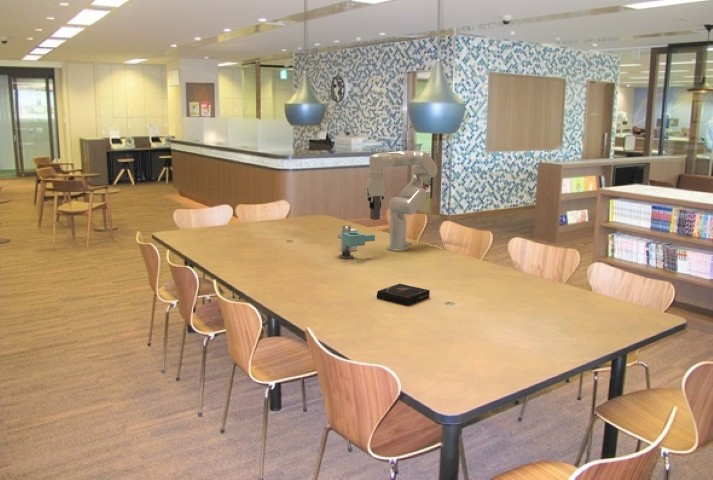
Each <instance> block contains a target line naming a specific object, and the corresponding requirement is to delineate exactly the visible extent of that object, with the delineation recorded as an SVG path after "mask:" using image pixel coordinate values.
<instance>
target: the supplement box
mask: <svg viewBox="0 0 713 480" xmlns="http://www.w3.org/2000/svg"><path fill="white" fill-rule="evenodd" d="M351 232H358V228H357V229H356V228H351ZM340 234H342V229H340ZM339 244H340V245H339V246H340V247H339V249H340V251H342V239H340V243H339ZM357 250H358V246H354V247H351V248H350V252H353V251H357Z"/></svg>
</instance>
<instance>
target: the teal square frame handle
mask: <svg viewBox="0 0 713 480" xmlns="http://www.w3.org/2000/svg"><path fill="white" fill-rule="evenodd" d="M375 241H376V235H375V234H372V233H371V234H370V233H369V234H365V233H361V232H358V231H357V232H350V233H342V244H344V245H347V246H349V247H354V246H357V247H362V246H366V242H367V243H368V242H375Z"/></svg>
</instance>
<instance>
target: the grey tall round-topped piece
mask: <svg viewBox="0 0 713 480" xmlns="http://www.w3.org/2000/svg"><path fill="white" fill-rule="evenodd" d="M351 227H352V226H351V225H350V224H349V225H348V224H345V225H344V224H343V225H342V227H341V230H342V233H350V232H351V229H352V228H351ZM337 239H340V240H341V239H342V234H341V233H339V234H337ZM350 248H351V247H349V246H347V245H344V244H342V250H341V254H339V256H338V257H339V258H340V259H342V260H345V259H346V260H349V259H353V258H354V254H351V251H350Z"/></svg>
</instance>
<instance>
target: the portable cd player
mask: <svg viewBox="0 0 713 480" xmlns="http://www.w3.org/2000/svg"><path fill="white" fill-rule="evenodd" d="M430 291H431V290H430V289H425V288H422V287H417V286H411V285H408V284H403V283H397V284H394V285H391V286H388V287H385V288H382V289H380V290H377V292H376V293H377V294H376V296H375V297H376V299H378V300H382V301H386V302H390V303H394V304H398V305H402V306H406V307H409V306H412V305H415V304H417V303H419V302H422V301H425V300H428V299H430Z"/></svg>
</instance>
